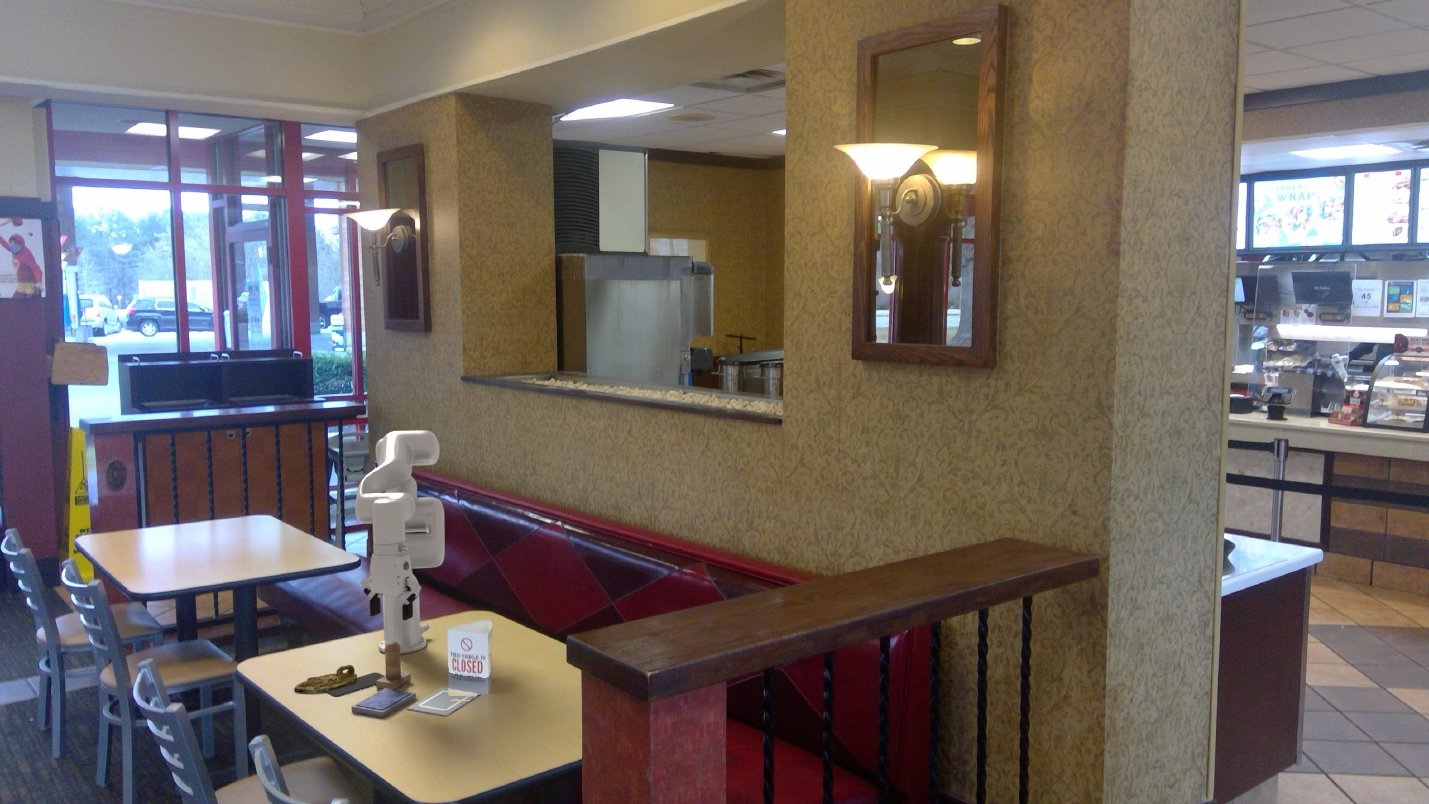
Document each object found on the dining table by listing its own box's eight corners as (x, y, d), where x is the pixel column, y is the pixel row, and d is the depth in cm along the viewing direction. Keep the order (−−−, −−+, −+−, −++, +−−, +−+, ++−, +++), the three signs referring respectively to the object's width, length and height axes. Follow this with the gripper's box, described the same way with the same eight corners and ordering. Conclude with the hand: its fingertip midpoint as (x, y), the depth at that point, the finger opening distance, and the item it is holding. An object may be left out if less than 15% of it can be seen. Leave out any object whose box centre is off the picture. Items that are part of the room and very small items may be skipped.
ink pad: (385, 693, 246) (385, 687, 246) (416, 698, 243) (415, 692, 243) (351, 712, 235) (351, 705, 235) (383, 718, 232) (383, 711, 231)
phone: (320, 688, 248) (375, 671, 259) (320, 692, 248) (375, 674, 260) (335, 696, 243) (391, 678, 255) (335, 699, 243) (391, 681, 255)
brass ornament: (300, 703, 243) (362, 688, 252) (299, 685, 242) (362, 670, 251) (289, 687, 251) (350, 673, 260) (289, 669, 250) (350, 656, 259)
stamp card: (443, 688, 250) (443, 686, 249) (481, 694, 246) (480, 692, 246) (407, 709, 236) (407, 708, 236) (446, 716, 233) (446, 715, 233)
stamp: (394, 679, 255) (393, 636, 254) (410, 682, 254) (409, 638, 252) (376, 689, 249) (374, 645, 248) (392, 692, 247) (391, 647, 246)
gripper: (428, 548, 248) (430, 616, 249) (371, 542, 254) (373, 609, 255) (409, 554, 241) (410, 624, 242) (350, 549, 247) (352, 617, 248)
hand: (391, 616), depth 249 cm, fingers open, 9 cm apart
